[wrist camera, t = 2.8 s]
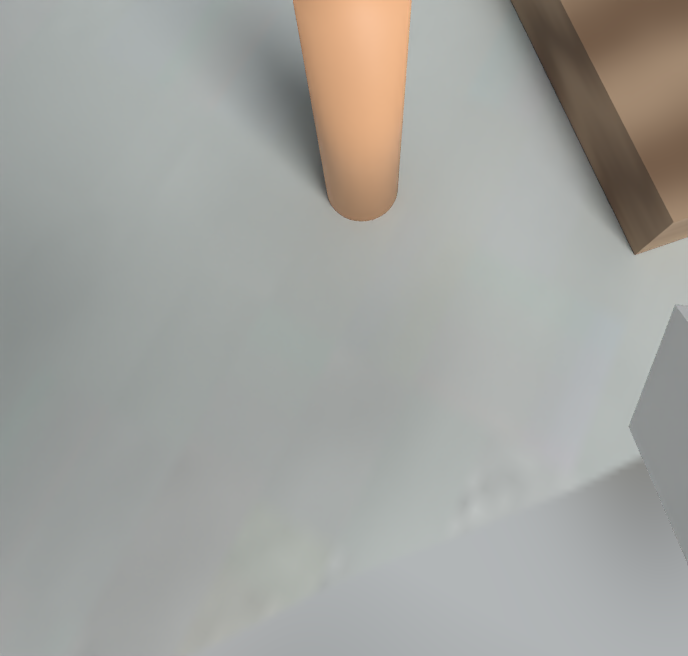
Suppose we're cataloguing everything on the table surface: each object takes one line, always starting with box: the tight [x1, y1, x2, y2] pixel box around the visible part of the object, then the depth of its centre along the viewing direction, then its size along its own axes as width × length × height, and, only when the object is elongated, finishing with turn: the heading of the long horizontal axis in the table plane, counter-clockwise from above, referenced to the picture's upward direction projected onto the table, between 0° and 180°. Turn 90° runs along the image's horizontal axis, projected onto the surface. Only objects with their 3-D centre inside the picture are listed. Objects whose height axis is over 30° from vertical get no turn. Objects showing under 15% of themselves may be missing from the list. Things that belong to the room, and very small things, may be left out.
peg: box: [293, 0, 411, 221], centre depth 22 cm, size 3×3×12 cm
